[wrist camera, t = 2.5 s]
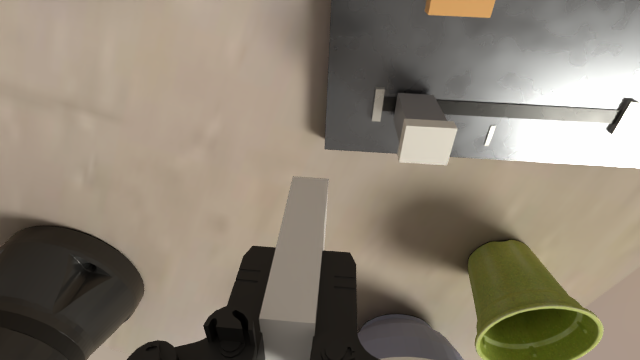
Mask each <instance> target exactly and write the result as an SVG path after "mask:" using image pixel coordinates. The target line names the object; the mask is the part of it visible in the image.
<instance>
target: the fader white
mask: <svg viewBox="0 0 640 360" xmlns="http://www.w3.org/2000/svg"><path fill="white" fill-rule="evenodd" d="M393 121H394V125H395V129H396V133H397V137H398V141H399V148H398V153H397V155H398V160H399V162H402V163H419V164H435V165H447V163H448V160H449V156H450V153H451V150H452V146H453V143H454V139H455V136H456V133H457V129H458V128H457V127H456V125H455V123H454V121H447V119H446V117H445V115H444V114H443V112H442V110H441V108H440V106H439V104H438V102H437V100H436V98H435V97H434V95H427V94H409V93H398V95H397V101H396V107H395V113H394V119H393Z"/></svg>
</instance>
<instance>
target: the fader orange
mask: <svg viewBox="0 0 640 360" xmlns="http://www.w3.org/2000/svg"><path fill="white" fill-rule="evenodd" d="M423 1H424V2H425V3H426V6H425V12H426V13H427V14H428V15H439V16H460V17H482V18H490V17H491V14H492V10H493V7H494V4H495V0H423Z"/></svg>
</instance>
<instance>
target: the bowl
mask: <svg viewBox="0 0 640 360" xmlns="http://www.w3.org/2000/svg"><path fill="white" fill-rule="evenodd" d="M357 334H358V338H359V341H360V343H361V344H362V346H363V347H364V349H365V350H366V351H367V352H369V353H370V354H371V355H373V356H374V357H376V358H378V359H380V360H463V358H462V357H461V355H460V354H459V353H458V352H457V351H456V349H455V348H454V347H453V346H452V345H451V344H450V342H449V341H448V340H447V339H446V338H445V337H444V336H443V335H442V334H440V333H439V332H437V331H435V330H433V329H432V328H431V327H430V326H429V325H428V324H427V323H426V322H425V321H423V320H421V319H419V318H416V317H413V316H409V315H402V314H390V315H384V316H380V317H376V318H374V319H372V320H370V321H368V322H367V323H365V324H364V325H363V326H362V328H361V330H360V332H359V333H357Z"/></svg>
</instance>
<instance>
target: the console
mask: <svg viewBox="0 0 640 360" xmlns="http://www.w3.org/2000/svg"><path fill="white" fill-rule="evenodd" d="M425 6H426V3H425V2H424V1H423V0H331V22H330V44H329V65H328V87H327V109H326V130H325V149H329V150H345V151H362V152H379V153H395V154H397V153H398V148H399V141H398V137H397V133H396V129H395V125H394V121H393V119H394V113H395V107H396V101H397V95H398V93H409V94H427V95H434V97H435V98H436V100H437V102H438V104H439V106H440V108H441V110H442V112H443V114H444V115H445V117H446V119H447V121H454V123H455V125H456V127H457V128H458V129H457V133H456V136H455V139H454V143H453V146H452V150H451V153H450V156H449V157H462V158H479V159H495V160H512V161H529V162H546V163H562V164H579V165H596V166H612V167H629V168H640V0H495V4H494V7H493V10H492V14H491V17H490V18H482V17H460V16H439V15H428V14H427V13H426V12H425Z"/></svg>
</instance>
